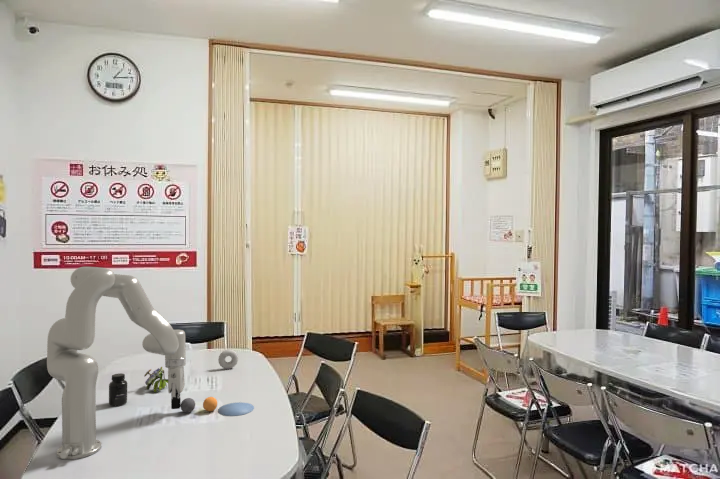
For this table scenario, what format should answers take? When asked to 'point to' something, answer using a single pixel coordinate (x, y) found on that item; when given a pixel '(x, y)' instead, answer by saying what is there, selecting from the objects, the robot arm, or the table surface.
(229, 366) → the donut
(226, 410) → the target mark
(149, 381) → the passion flower
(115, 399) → the supplement bottle
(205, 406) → the object ball
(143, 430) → the table surface
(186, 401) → the dark gray ball
